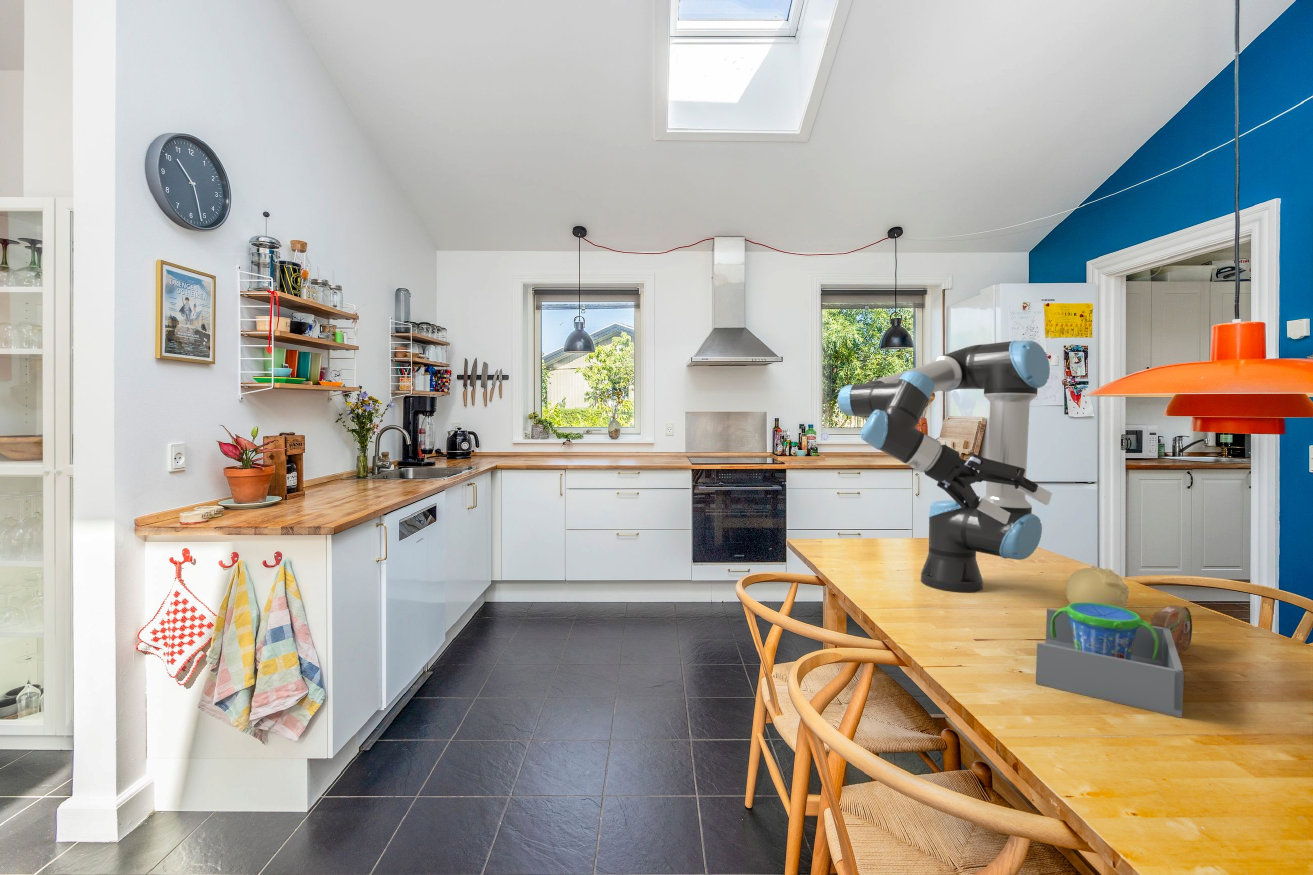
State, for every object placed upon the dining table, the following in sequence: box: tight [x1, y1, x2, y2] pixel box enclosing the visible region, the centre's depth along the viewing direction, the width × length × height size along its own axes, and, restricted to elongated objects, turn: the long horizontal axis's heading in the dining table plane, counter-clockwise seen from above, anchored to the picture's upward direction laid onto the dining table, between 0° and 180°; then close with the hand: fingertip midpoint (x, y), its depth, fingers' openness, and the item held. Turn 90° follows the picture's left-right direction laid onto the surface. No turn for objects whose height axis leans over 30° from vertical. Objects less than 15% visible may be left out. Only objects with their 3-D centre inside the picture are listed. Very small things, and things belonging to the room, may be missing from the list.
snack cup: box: [1051, 602, 1159, 660], centre depth 108 cm, size 16×10×10 cm
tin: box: [1149, 605, 1193, 655], centre depth 119 cm, size 15×3×8 cm, turn 123°
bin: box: [1035, 607, 1185, 718], centre depth 107 cm, size 24×19×7 cm
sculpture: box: [1065, 565, 1130, 609], centre depth 142 cm, size 12×12×11 cm
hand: (1027, 509), depth 125 cm, fingers open, 13 cm apart
